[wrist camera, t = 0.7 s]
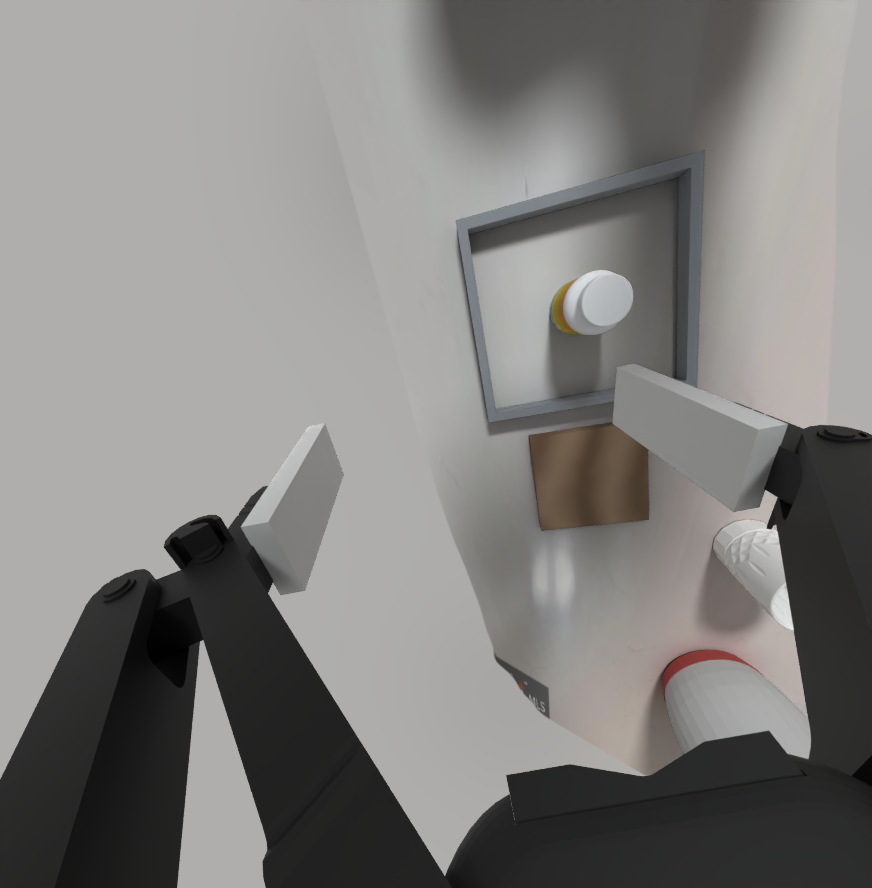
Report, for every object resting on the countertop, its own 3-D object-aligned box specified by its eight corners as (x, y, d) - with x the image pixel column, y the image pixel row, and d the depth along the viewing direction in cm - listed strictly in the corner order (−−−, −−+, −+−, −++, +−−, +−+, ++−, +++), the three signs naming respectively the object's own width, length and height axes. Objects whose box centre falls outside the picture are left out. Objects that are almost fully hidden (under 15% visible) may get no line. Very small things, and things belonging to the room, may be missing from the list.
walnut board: (642, 417, 39) (647, 420, 37) (644, 514, 42) (648, 519, 41) (528, 435, 41) (530, 438, 40) (540, 525, 45) (541, 530, 44)
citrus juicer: (644, 718, 54) (732, 925, 35) (649, 637, 49) (755, 830, 30) (754, 721, 51) (912, 947, 32) (771, 635, 46) (972, 847, 27)
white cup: (698, 530, 42) (760, 587, 33) (766, 504, 40) (854, 558, 31) (718, 575, 44) (783, 642, 35) (786, 553, 42) (874, 618, 32)
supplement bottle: (557, 342, 37) (582, 346, 28) (542, 293, 36) (564, 281, 27) (606, 322, 36) (650, 320, 27) (594, 271, 34) (635, 250, 25)
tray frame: (690, 161, 31) (704, 150, 29) (685, 384, 37) (696, 388, 35) (457, 226, 35) (455, 220, 33) (488, 418, 41) (488, 422, 39)
